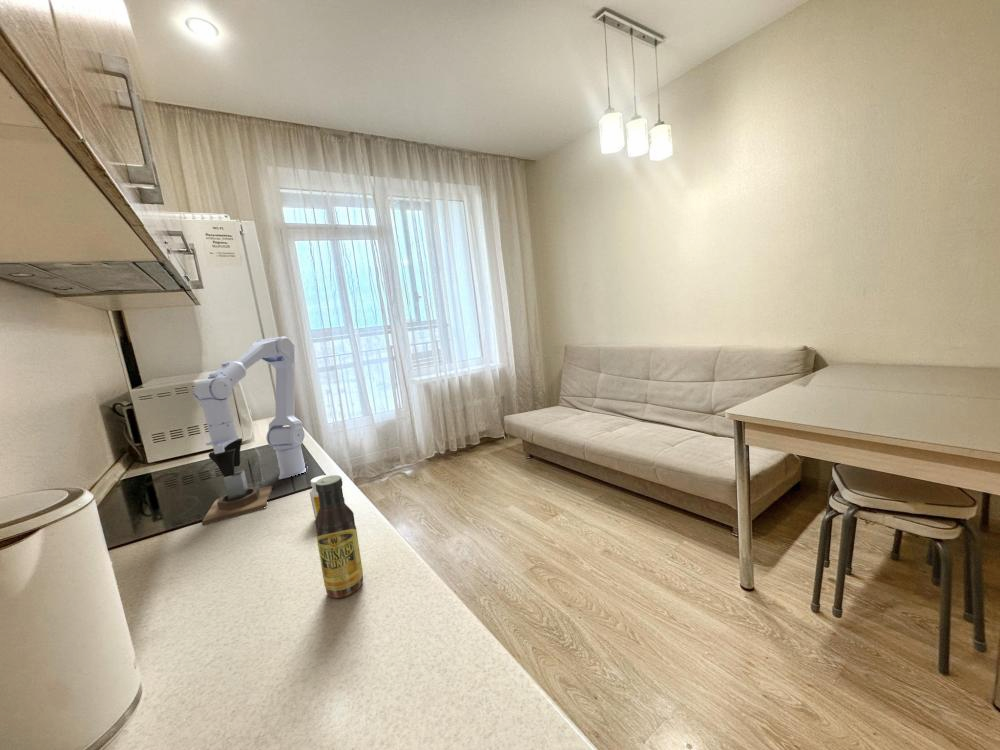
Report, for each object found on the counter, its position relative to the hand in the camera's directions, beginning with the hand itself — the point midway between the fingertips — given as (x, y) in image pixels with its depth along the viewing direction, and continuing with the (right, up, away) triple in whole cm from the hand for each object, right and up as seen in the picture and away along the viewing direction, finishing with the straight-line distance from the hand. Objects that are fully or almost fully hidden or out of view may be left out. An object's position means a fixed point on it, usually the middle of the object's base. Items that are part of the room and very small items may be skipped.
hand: (232, 471), depth 105 cm
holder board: (+1, -10, +2) cm, 10 cm away
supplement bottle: (+31, -8, -11) cm, 33 cm away
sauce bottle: (+46, -11, -38) cm, 60 cm away
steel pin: (+1, -9, +2) cm, 9 cm away
